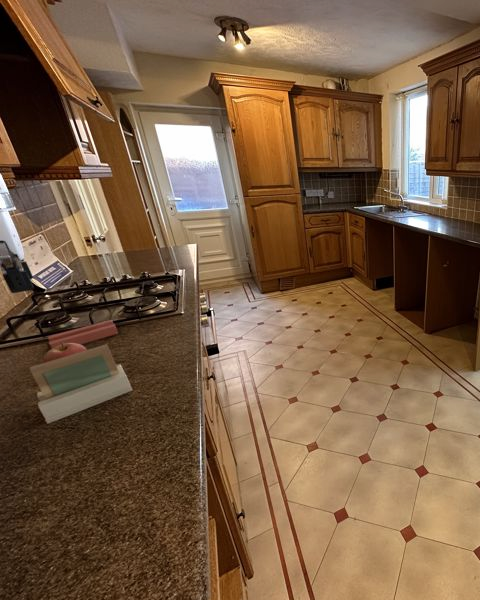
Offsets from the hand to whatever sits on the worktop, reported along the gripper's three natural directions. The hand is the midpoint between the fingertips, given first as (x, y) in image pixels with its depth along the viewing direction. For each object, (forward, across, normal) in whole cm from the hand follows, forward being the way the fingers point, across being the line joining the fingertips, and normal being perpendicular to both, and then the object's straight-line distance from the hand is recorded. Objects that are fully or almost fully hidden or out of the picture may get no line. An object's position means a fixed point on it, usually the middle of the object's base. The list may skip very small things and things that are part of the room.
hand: (23, 285), depth 69 cm
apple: (+25, -4, +1) cm, 25 cm away
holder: (+24, +14, +3) cm, 28 cm away
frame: (+23, +14, +3) cm, 27 cm away
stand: (+25, -20, +6) cm, 32 cm away
